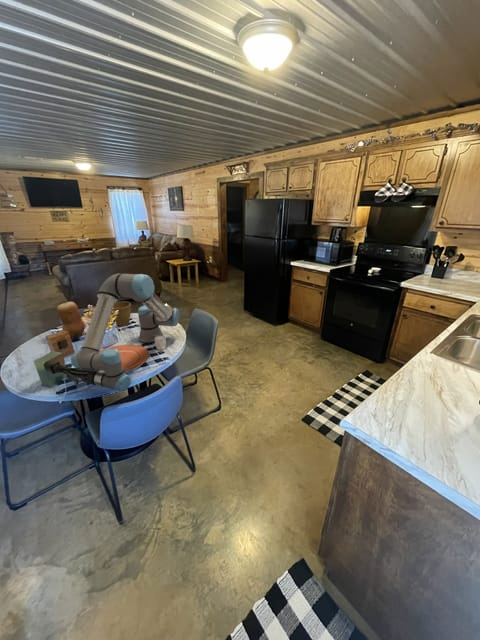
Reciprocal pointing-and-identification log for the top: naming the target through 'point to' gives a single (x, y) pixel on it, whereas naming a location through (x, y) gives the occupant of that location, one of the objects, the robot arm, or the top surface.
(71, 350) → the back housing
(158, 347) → the shot glass
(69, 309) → the butternut squash
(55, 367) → the front button
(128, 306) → the plant pot
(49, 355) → the front housing
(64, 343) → the back button
